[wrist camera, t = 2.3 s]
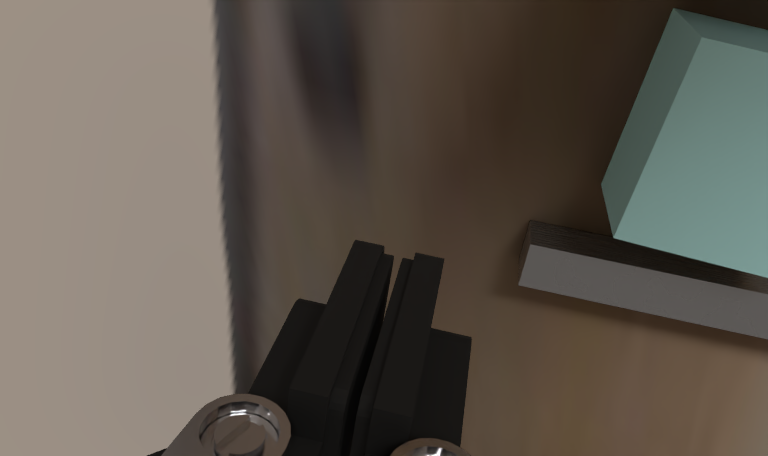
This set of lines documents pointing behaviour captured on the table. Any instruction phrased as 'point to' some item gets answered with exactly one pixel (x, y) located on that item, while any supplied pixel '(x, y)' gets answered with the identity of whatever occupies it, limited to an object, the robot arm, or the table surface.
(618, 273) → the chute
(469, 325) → the table surface
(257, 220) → the table surface
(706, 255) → the block
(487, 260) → the table surface
